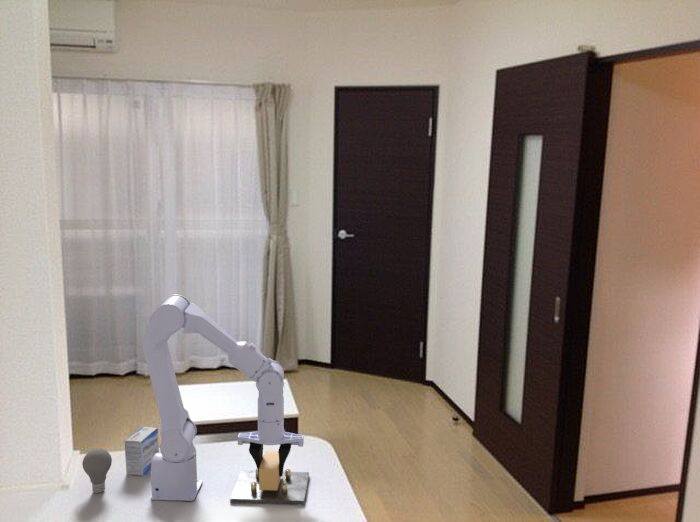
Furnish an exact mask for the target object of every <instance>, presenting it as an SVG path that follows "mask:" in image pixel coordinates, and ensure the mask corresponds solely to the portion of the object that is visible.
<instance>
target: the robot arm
mask: <svg viewBox="0 0 700 522" xmlns="http://www.w3.org/2000/svg"><path fill="white" fill-rule="evenodd" d="M147 320H148V321H147V324H146V326H145V329H144V332H143V335H142V337H141V341H140V342H141V347H142V350H143V356H144V358H145V363H146V367H147V369H148V373H149V379H150V381H151V386H152V389H153V393H154V397H155V401H156V404H157V409H158V412H159V416H160V428H159V429H160V430H159V431H160V438H161V441H160V444H159V445H160V446H159V453H156V454H155V455H154V457H153V460H152V464H151V469H150V485H151V487H150V488H151V495H150V500H153V501H155V500H157V501H183V502H184V501H186V502H193V501H194V500H195V498H196V496H197V495H198V493H199V491H200V488H201V486H202V485H203V480H201V479H198V473H197V472H198V470H197V468H198V467H197V465H198V464H197V449H196V447H195V445H194V443H193V442H194V439H196V435H197V433H198V430H197V429H198V428H197V426H196V423H195V422H194V421H193V420H192V419H191V417H190V415H189V412H188V410H187V409H185V406H184V403H183V399H182V396H181V392H180V387H179V384H178V379H177V376H176V373H175V367H174V365H173V360H172V355H171V352H170V348H169V345H168V344H169V343H168V341H169V339H170V338H171V337H172V336H173V335H175V334H176V333H177V332H179V331H180V330H181V329H183V330H182V331H181V334H183V335H185V334H199V335H200V336H201V337H203V338H204V339H206V340H207V341H208V342H210V343H212V344H213V345H214V346H216V347H217V348H218V349H220V350H221V351H223V352H224V353H225V354H227V357H228V363H229V364H230V365H231V366H233V367H234V368H236V369H237V370H238V371H239V372H241V373H242V374H243V375H244V376H246V377H247V378H248V379H250V381H253V382H255V387H256V389H257V392H258V395H257V431H251V432H250V431H249V432H239V433H238V435H237V445H238V446H242V445H244V444H249V448H248V452H249V454H250V456H251V457H252V459H253V461H254V462H255V466H256V469H258V474H259V467H260V464H261V461H262V458H263V455H264V446H277V445H278V446H279V447H278V451H277V452H278V453H279V476H282V474H283V472H284V467H285V464H286V461H287V458H288V456H289V455H290V453H291V449H292V446H298V447H301V448H302V447H304V443H305V435H304V434H298V433H293V432H289V431H285V427H284V426H285V424H284V423H285V417H284V415H285V412H284V411H285V407H284V406H285V405H284V403H285V398H284V386H285V382H284V378H285V371H284V368H283V366H282V364H280V362H279V361H278V360H273V359H272V358H271V357H268V358H267V357H266V356H265V355H264V354H262V353H261V351H259V350H258V349H256V348H257V345H256V344H255V343H253V342H251V343H249V342H247V341H246V340H245V341H238V340H236V339H235V338H234V337H233V336H231V334H229V333H228V332H227V331H226V330H225V329H224V328H222V327H221V325H219V324H218V323H217V322H216V321H214V320H213V319H212V318H211V317H210V316H209V315H208V314H207V313H206V312H205V311H203V310H202V308H200V307H199V306H198V305H197V304H195V303H194V302H190V300H189V299H188V298H187V297H186V296H184V295H182V294H171V295H169V296H167V297H166V298H165V299H164V300H163V301H162V302H161V303H160V305H158V307H157V308H155V310H154V311H153V312H152V313H151V314H150V315H149V317H148V319H147Z"/></svg>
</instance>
